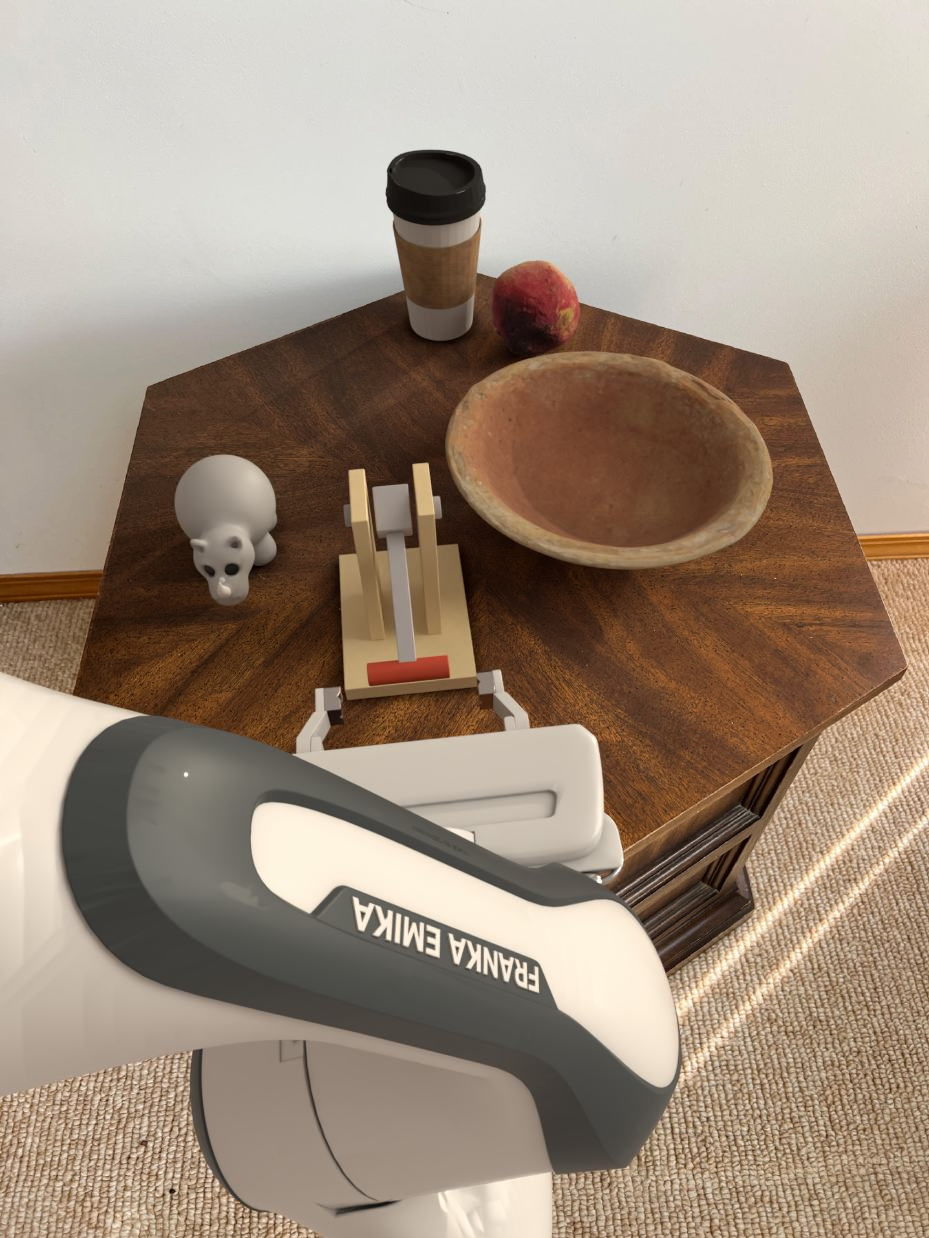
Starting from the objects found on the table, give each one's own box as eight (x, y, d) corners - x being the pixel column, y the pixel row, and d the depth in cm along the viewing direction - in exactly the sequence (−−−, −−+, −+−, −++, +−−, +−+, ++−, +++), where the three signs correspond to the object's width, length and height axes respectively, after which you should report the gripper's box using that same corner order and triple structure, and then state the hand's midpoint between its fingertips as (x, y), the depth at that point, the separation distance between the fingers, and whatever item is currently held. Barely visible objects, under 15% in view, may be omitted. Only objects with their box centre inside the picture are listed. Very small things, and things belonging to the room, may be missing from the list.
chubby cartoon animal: (183, 639, 68) (149, 564, 61) (197, 516, 75) (168, 436, 68) (283, 631, 68) (260, 555, 62) (287, 509, 75) (267, 429, 69)
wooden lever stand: (476, 687, 65) (475, 559, 54) (346, 700, 65) (318, 574, 54) (458, 555, 72) (453, 418, 61) (341, 566, 72) (314, 430, 61)
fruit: (585, 332, 88) (593, 255, 82) (560, 383, 84) (566, 306, 78) (507, 314, 90) (508, 238, 83) (478, 363, 86) (478, 286, 79)
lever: (449, 678, 59) (450, 677, 57) (370, 687, 59) (367, 685, 57) (430, 490, 60) (430, 481, 58) (352, 497, 60) (349, 488, 58)
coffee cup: (394, 298, 92) (380, 145, 80) (480, 291, 92) (479, 138, 80) (400, 353, 87) (386, 199, 75) (491, 345, 87) (492, 191, 75)
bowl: (803, 595, 70) (836, 523, 63) (493, 665, 66) (494, 596, 60) (682, 391, 83) (698, 314, 77) (419, 440, 80) (414, 364, 73)
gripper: (640, 866, 46) (586, 635, 54) (215, 916, 45) (226, 672, 53) (624, 910, 51) (577, 693, 59) (243, 956, 50) (248, 728, 58)
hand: (408, 683), depth 56 cm, fingers open, 8 cm apart
